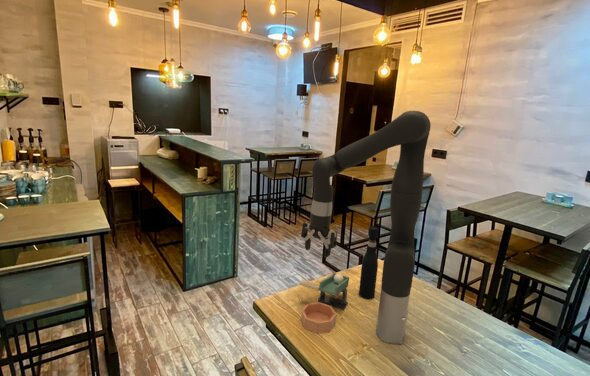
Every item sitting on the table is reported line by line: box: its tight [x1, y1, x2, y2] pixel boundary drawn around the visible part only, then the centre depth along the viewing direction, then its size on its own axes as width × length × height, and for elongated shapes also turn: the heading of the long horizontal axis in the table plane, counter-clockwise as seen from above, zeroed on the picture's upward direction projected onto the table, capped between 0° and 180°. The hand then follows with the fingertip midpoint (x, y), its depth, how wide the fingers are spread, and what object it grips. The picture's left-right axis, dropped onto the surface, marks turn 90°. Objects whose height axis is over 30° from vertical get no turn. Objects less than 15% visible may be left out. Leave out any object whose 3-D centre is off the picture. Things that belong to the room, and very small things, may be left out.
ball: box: [334, 273, 344, 284], centre depth 128 cm, size 4×4×4 cm
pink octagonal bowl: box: [300, 301, 337, 335], centre depth 114 cm, size 12×12×4 cm
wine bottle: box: [358, 225, 380, 300], centre depth 129 cm, size 6×6×30 cm
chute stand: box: [317, 288, 349, 311], centre depth 126 cm, size 11×5×7 cm, turn 61°
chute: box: [298, 272, 350, 297], centre depth 126 cm, size 15×15×6 cm
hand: (316, 253), depth 119 cm, fingers open, 8 cm apart
